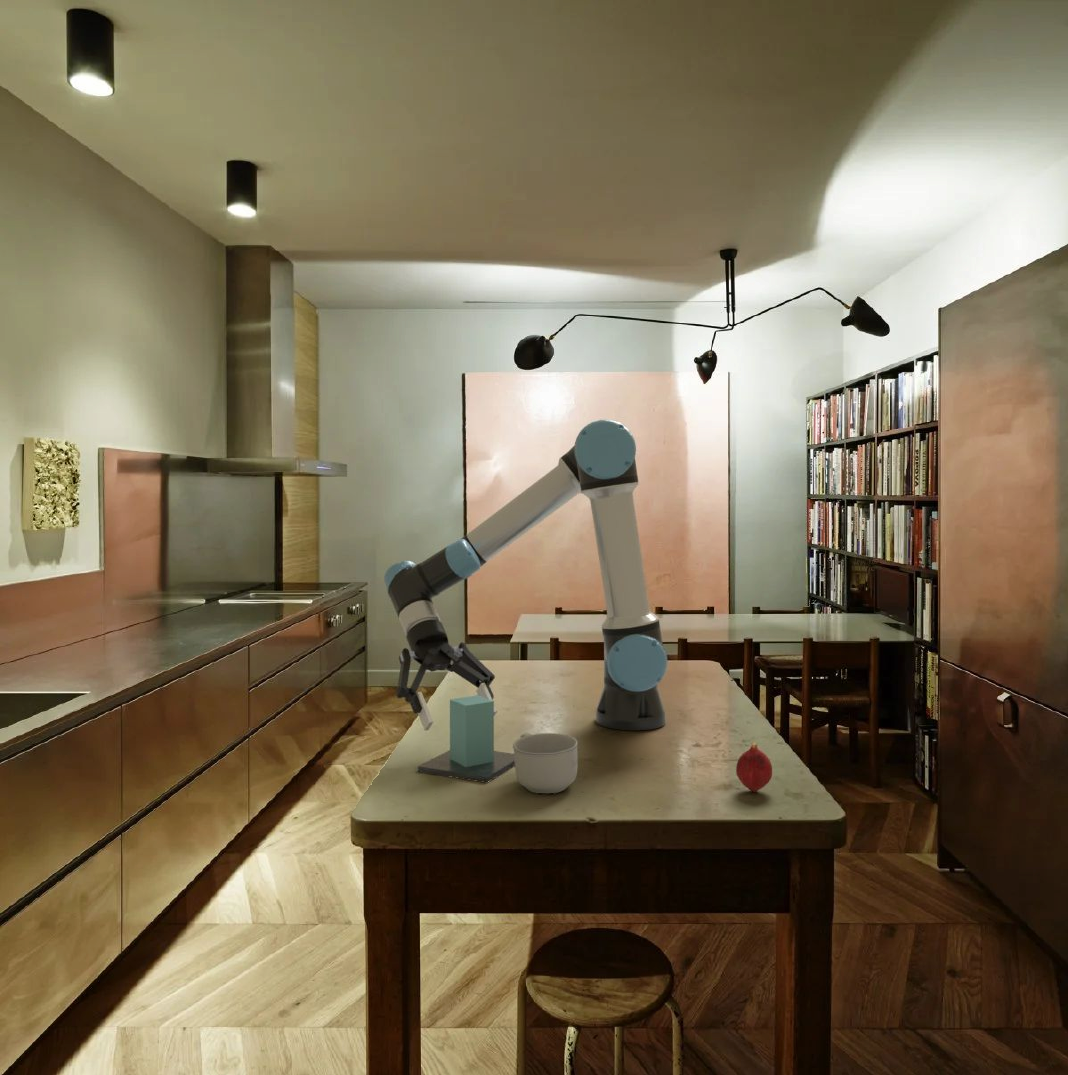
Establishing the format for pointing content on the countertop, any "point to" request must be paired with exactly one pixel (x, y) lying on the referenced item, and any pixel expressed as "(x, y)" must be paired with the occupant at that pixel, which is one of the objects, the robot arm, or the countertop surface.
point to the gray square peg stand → (477, 772)
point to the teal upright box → (471, 730)
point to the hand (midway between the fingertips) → (461, 721)
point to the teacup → (545, 761)
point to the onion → (754, 769)
